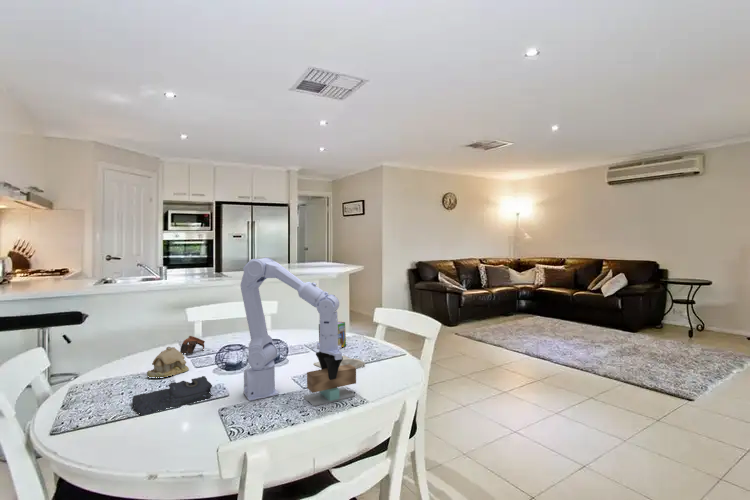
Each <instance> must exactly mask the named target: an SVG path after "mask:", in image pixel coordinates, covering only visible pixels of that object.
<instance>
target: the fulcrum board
mask: <svg viewBox="0 0 750 500" xmlns="http://www.w3.org/2000/svg"><path fill="white" fill-rule="evenodd" d="M355 397H356V395H355V394H354V393H353V392H351V391H349V390H348V389H347V388H346V387H345V386H341V387H337V388H332V389H328V390H323V391H319V392H314V393H311V394H306V395H303V398H304V399H305V401H307V402H308V401H309V402H310V403H311V404H312V405H313V406H315V407H318V406H323V405H327V404H331V403H335V402H339V401H343V400H346V399H347V400H348V399H350V398H355ZM309 402H308V403H309ZM310 403H309V404H310ZM311 404H310V405H311ZM312 405H311V406H312ZM313 406H312V407H313Z"/></svg>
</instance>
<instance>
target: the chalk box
mask: <svg viewBox="0 0 750 500" xmlns="http://www.w3.org/2000/svg"><path fill="white" fill-rule="evenodd" d="M346 338H347V337H346V322H345V321H339V320H338V345H339V346H341V349H342V347H343V348H344V346H345V347H346V346H347V341H346V340H347V339H346ZM318 343H320V323H319V324H318Z"/></svg>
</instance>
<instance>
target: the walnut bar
mask: <svg viewBox="0 0 750 500" xmlns="http://www.w3.org/2000/svg"><path fill="white" fill-rule="evenodd" d="M354 384H357V369H356V368H355V367H354V366H352V365H350V364H348V365H342V366H339V368H338V372H337V377H336V379H333V380H330V379H329V376H328V369H327V368H326V369H321V368H320V369H316V370H312V371H307V372H306V388H307V390H309V391H310V392H311V394H315V393H319V392H320V391H323V390H328V389H332V388H341V387H345V386H350V385H354Z"/></svg>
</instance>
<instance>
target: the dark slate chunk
mask: <svg viewBox="0 0 750 500" xmlns="http://www.w3.org/2000/svg"><path fill="white" fill-rule="evenodd" d="M212 387H213V384H212V383H211V382H210V381H208V379H207V377H206V376H204V375H202V376H199V377H193V378H191V382H189V381H186V380H181V381H179V382H175V381H174V382H170V383H169V384H168V388H164V389H163V388H162V389H158V390H155V391H152V392H151V391H150V392H148V393H145V392H144V393H141V394H140V393H139V394H134V396H133V397H132V399H131V402H132V405H133V408H134V410H135V411H136V413H137V414H138V413H140V414H141V416H145V415H144V414H147V415H151V414H155V413H157V412H156V411H158V410H159V411H160V410H164V411H166V410H165V409H166V408H170V407H176V408H179V406H180V407H184V406H187V405H191V404H195V403H198V402H197V401H199V402H202V401H201V400H203V401H206V400H205V399H207V400H210V399H211V398H212V397H214V394H212V393H211V389H212ZM209 392H210V393H211V394H212V395H211V394H210V393H209ZM211 396H212V397H211ZM194 402H195V403H194ZM154 412H155V413H154ZM160 412H161V411H160ZM140 414H139V415H140Z"/></svg>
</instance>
